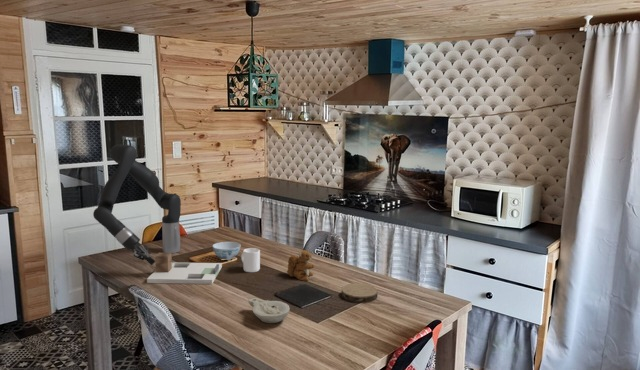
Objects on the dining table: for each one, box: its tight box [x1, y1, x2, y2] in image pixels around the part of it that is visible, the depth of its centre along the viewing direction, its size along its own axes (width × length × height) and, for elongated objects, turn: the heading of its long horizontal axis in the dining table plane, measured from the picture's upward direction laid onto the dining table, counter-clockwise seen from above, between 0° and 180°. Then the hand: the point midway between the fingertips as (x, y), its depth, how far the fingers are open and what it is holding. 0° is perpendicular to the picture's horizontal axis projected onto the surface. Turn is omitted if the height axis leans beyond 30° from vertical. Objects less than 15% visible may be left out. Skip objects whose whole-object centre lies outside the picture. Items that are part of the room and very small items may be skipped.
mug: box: [240, 247, 261, 273], centre depth 244 cm, size 12×8×10 cm
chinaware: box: [212, 241, 242, 261], centre depth 259 cm, size 15×15×8 cm
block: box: [154, 252, 173, 272], centre depth 233 cm, size 6×6×8 cm
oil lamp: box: [248, 297, 290, 324], centre depth 187 cm, size 21×14×5 cm
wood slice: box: [341, 282, 379, 304], centre depth 212 cm, size 16×16×3 cm
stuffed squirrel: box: [286, 249, 315, 282], centre depth 234 cm, size 10×14×13 cm
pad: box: [201, 268, 220, 279], centre depth 234 cm, size 7×9×2 cm
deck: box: [146, 261, 223, 285], centre depth 234 cm, size 30×25×4 cm
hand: (153, 263), depth 233 cm, fingers closed
